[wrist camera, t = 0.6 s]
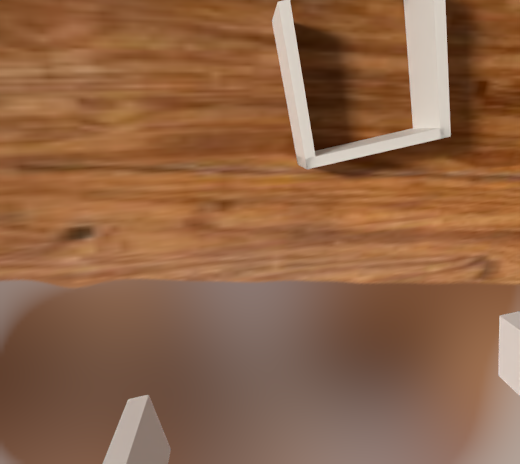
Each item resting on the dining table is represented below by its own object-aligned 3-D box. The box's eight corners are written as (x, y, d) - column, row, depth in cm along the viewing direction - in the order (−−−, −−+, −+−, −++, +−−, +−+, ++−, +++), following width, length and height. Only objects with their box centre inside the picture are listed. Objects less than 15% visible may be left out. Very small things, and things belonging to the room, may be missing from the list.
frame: (271, 21, 32) (277, 1, 27) (413, -12, 32) (443, -37, 27) (297, 164, 36) (306, 169, 31) (422, 135, 36) (450, 136, 31)
